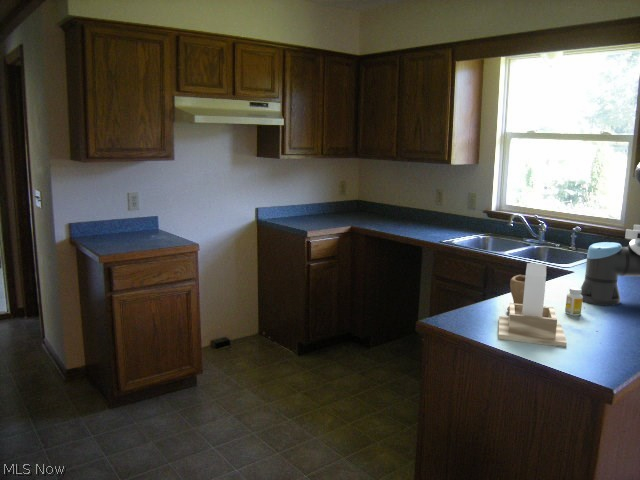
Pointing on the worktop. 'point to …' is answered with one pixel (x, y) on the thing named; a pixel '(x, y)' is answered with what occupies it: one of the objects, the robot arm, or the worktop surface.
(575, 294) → the supplement bottle
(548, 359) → the worktop surface
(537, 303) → the milk
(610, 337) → the worktop surface
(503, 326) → the wooden stepped stand
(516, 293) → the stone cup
